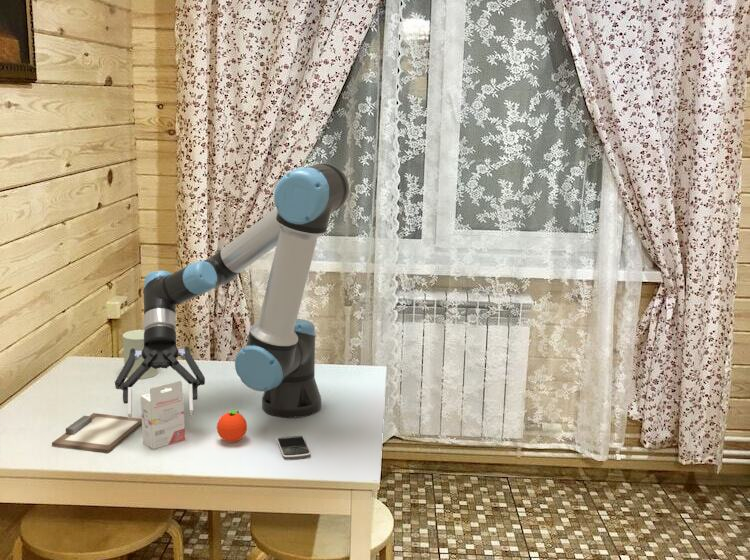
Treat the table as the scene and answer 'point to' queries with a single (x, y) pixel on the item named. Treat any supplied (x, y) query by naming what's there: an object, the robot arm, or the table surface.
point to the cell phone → (293, 447)
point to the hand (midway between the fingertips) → (160, 414)
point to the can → (136, 342)
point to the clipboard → (98, 432)
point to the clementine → (232, 426)
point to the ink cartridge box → (163, 415)
